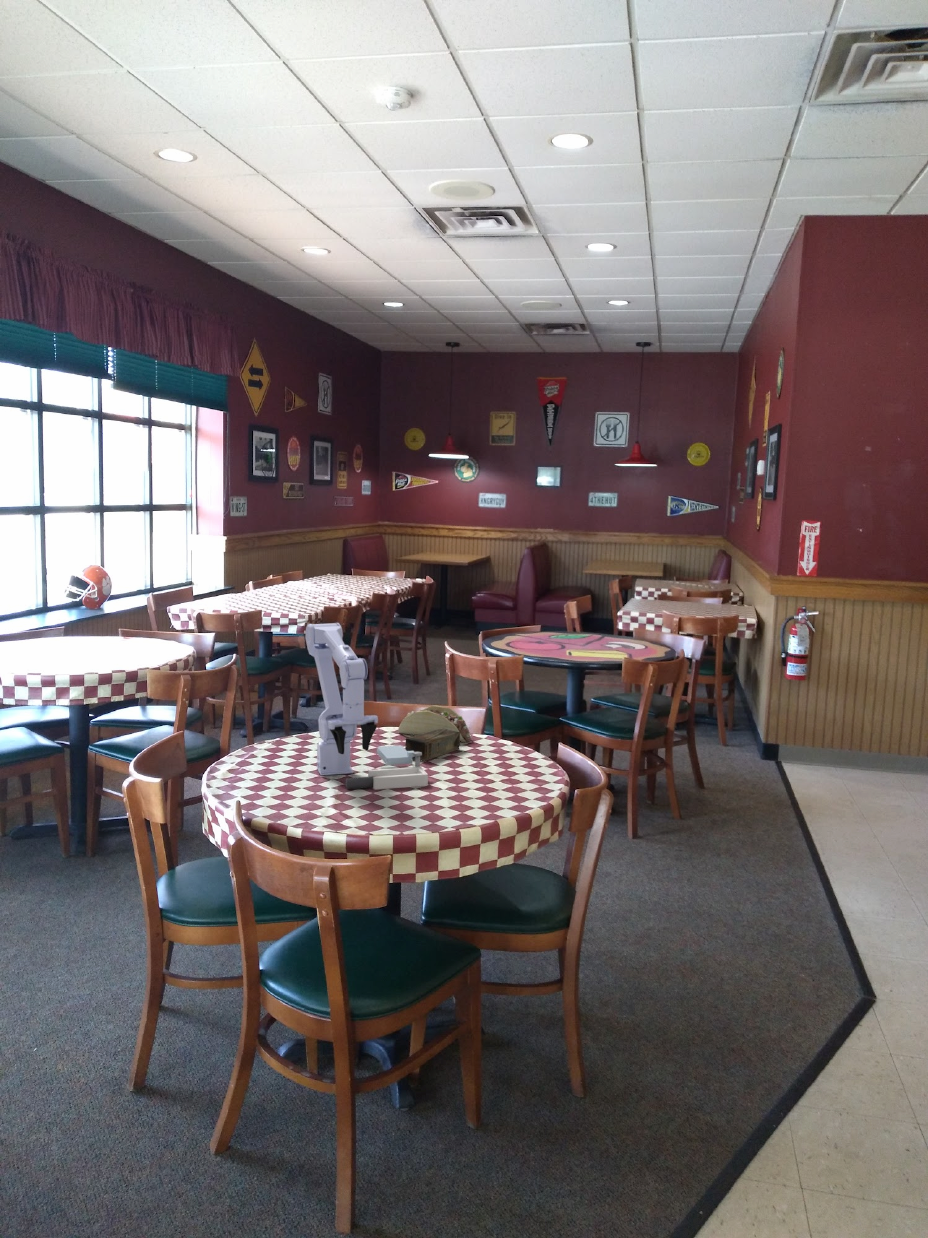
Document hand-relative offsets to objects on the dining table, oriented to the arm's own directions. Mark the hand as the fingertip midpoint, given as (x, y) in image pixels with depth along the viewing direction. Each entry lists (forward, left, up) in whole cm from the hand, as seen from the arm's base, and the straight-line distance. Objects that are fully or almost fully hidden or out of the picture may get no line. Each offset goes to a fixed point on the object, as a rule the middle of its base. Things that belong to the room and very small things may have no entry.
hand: (353, 751), depth 253 cm
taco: (+36, +44, -9) cm, 58 cm away
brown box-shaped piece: (+30, +25, -9) cm, 40 cm away
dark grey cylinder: (+1, -4, -9) cm, 9 cm away
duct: (+12, -4, -9) cm, 15 cm away
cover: (+15, +8, -5) cm, 18 cm away
